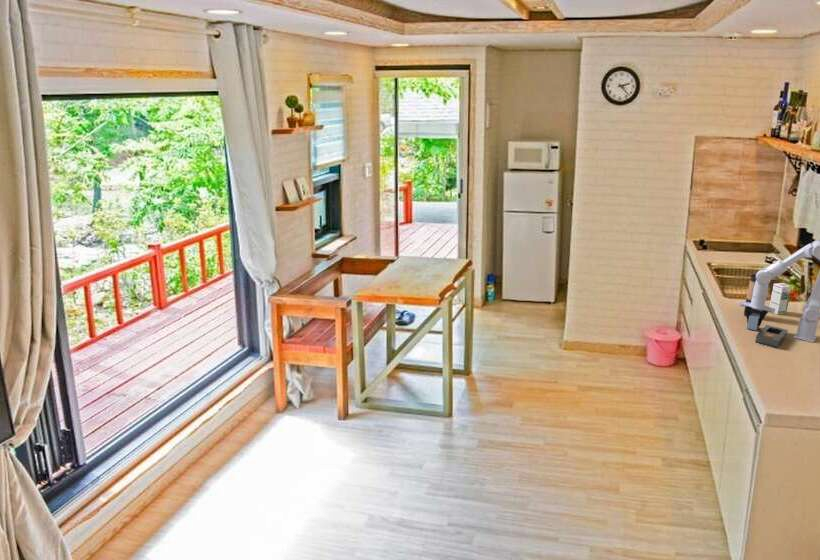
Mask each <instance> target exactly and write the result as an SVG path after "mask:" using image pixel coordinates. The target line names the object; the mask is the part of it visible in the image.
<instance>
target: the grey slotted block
mask: <svg viewBox="0 0 820 560" xmlns="http://www.w3.org/2000/svg"><path fill="white" fill-rule="evenodd" d="M788 333H789V330H788V329H785V328H781V327H777V326H773V325H768V324H766V325H765V326H763V328H762V329H761V330H760V331H759V332H758V333H757V334H756V336H755V341H754V343H755V342H756V343H755V344H757V343H759V344H758V345H761V344H763V345H762V346H765V345H767V347H769V346H770V348H773V347H774V349H778V348H780V346H781V345H782V344H783V343H784V341H786V339H787V337H788Z"/></svg>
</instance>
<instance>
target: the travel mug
mask: <svg viewBox="0 0 820 560" xmlns="http://www.w3.org/2000/svg"><path fill="white" fill-rule="evenodd" d="M756 274H757V273H755V274H751V275H750V279H749V284H748V289H747V292H746V293H747V294H746V297H745V299H746V300H745V302H749V303H751V300H752V295H753V290H754V286H755V282H756ZM745 308H746V307H744V311H743V316H744V317H746V318H747V316H746V312H745ZM760 312H761V310H757V309H753V310H752V313H755V314H760ZM752 313H751V314H752Z"/></svg>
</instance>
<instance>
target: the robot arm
mask: <svg viewBox="0 0 820 560" xmlns="http://www.w3.org/2000/svg"><path fill="white" fill-rule="evenodd" d="M813 257H814V258H815V259H817V260H818V261H819V262H820V239H816V240H814V241H812V242H811V243H808V244H806V245H805V246H803V247H801V248H799V249H798V250H797V251H795V252H794V253H792V254H791V255H790V256H788V257H786V258H785V259H784V260H780V259H778V260H777V261H776V260H774V261H772V264H770V265H768V266H767V267H763V268H762V269H760V270H758V271H757V272H756V273H755V274H756V282H755V286H754V290H753V295H752V300H751V303H749V302H746V301H743V300H741V301H740V302H739V307H744V310H745V312H746V316H747V317H746V316H745V317H746V321H747V322H746V324H747V325H748V320H749V316H750V315H751V313H752V310H753V309H757V310H761V312H760V318H759V322H758V326H759V327H760V326H761V325H762V322H763V320H764V319H765V317H766V316H767V314H775V313H774V312H775V309H774V308H770V307H769V306H766V300H767V295H768V291H769V284H770V283H771V281H772V280H773V279H775V278H777V277H778V276H780V275H782V274H784V273H785V272H786V271H788V267H790V266H792V265H793V264H795V263H797V262H799V261H801V260H802V259H805V258H809V259H813ZM745 307H746V308H745ZM802 312H803V314H802V315H801V316H800V317H799V318H800V319H799V321H798V322H799V323H798V327H797V330H796V331H797V332H796V334H794V336H793V338H795V339H799V340H802V341H807V342H811V343H814V342H815V341H816V339H817V338H818V335H816V333H817V329H818V324H819V321H820V320H819V319H820V269H819V271H818V273H817V276H816V279H815V282H814V284H813V288H812V290H811V293H810V295H809V297H808V299H807V301H806V302H805V303H804V305H803V306H802Z"/></svg>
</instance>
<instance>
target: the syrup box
mask: <svg viewBox="0 0 820 560" xmlns="http://www.w3.org/2000/svg"><path fill="white" fill-rule="evenodd" d="M772 286H773V287H772V292H771V297H770V302H769V305H768V307H770V308H774V309H775V312H774V314H775V315H777V316H778V315H786V314H787V311H788V307H789V306H788V305H789V302H790V297H791V296H790V295H791V291H792V285H790V284H788V283H784V282H781V283H780V282H779V283H773V285H772Z"/></svg>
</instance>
